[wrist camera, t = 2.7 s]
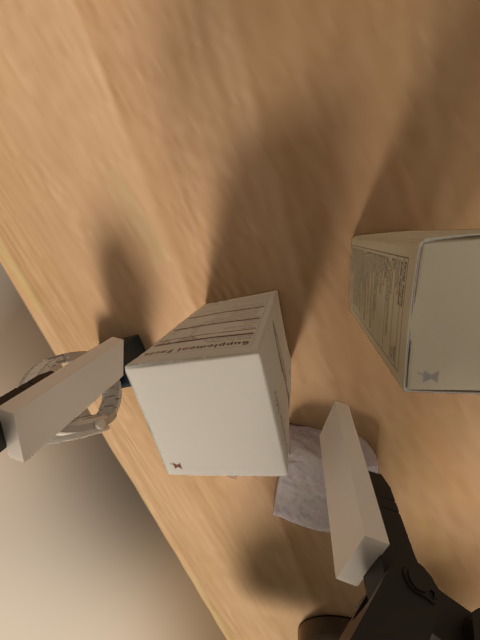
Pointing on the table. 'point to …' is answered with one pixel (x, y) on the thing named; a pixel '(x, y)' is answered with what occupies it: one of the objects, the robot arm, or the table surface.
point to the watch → (109, 406)
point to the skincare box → (421, 305)
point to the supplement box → (219, 390)
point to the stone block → (308, 480)
